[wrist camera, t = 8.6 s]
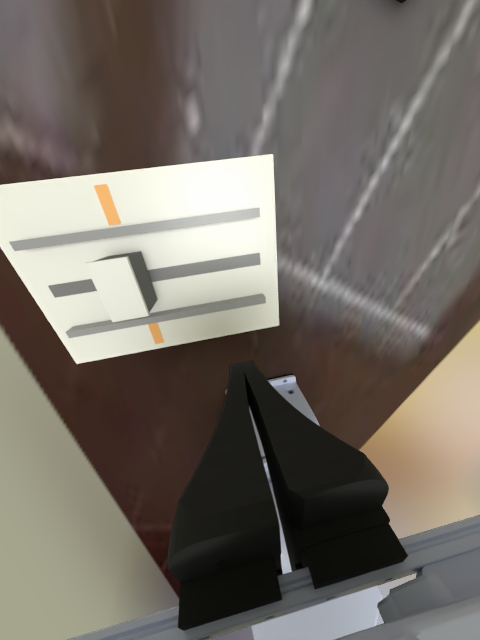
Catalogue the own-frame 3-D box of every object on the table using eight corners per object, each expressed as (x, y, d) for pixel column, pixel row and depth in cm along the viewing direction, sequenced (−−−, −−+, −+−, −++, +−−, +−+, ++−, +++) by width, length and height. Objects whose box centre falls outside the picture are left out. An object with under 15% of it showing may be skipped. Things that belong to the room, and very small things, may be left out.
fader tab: (141, 250, 15) (126, 257, 12) (158, 300, 17) (148, 316, 14) (107, 255, 15) (83, 263, 12) (128, 305, 17) (112, 322, 14)
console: (265, 161, 16) (277, 149, 13) (273, 317, 22) (282, 330, 19) (-7, 193, 14) (-57, 186, 11) (87, 351, 20) (70, 370, 18)
